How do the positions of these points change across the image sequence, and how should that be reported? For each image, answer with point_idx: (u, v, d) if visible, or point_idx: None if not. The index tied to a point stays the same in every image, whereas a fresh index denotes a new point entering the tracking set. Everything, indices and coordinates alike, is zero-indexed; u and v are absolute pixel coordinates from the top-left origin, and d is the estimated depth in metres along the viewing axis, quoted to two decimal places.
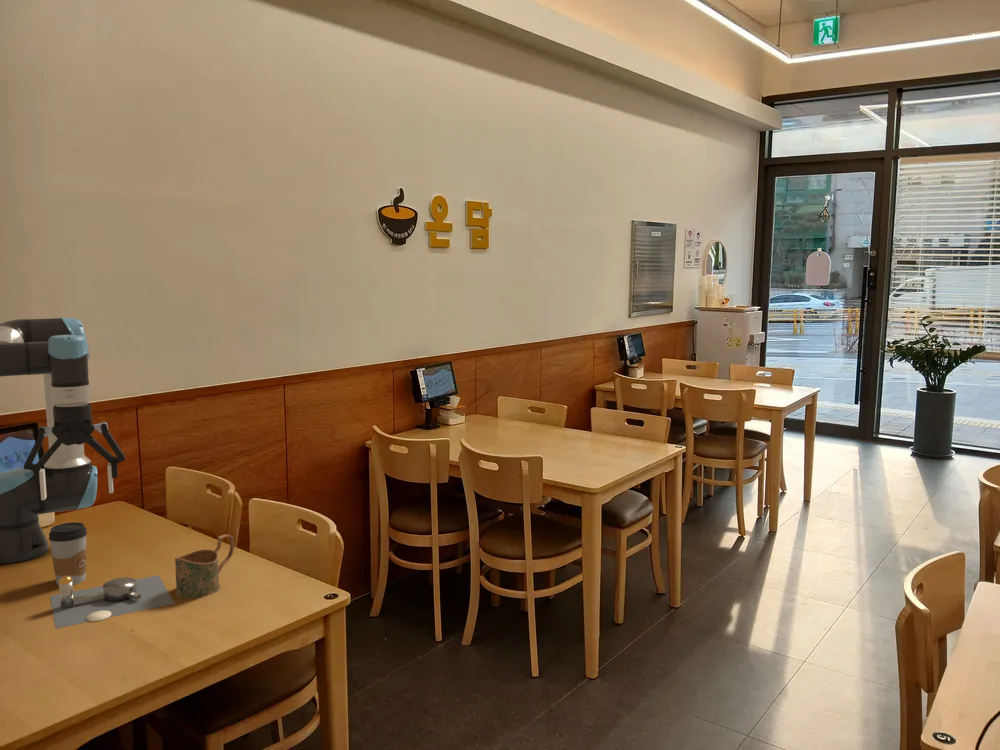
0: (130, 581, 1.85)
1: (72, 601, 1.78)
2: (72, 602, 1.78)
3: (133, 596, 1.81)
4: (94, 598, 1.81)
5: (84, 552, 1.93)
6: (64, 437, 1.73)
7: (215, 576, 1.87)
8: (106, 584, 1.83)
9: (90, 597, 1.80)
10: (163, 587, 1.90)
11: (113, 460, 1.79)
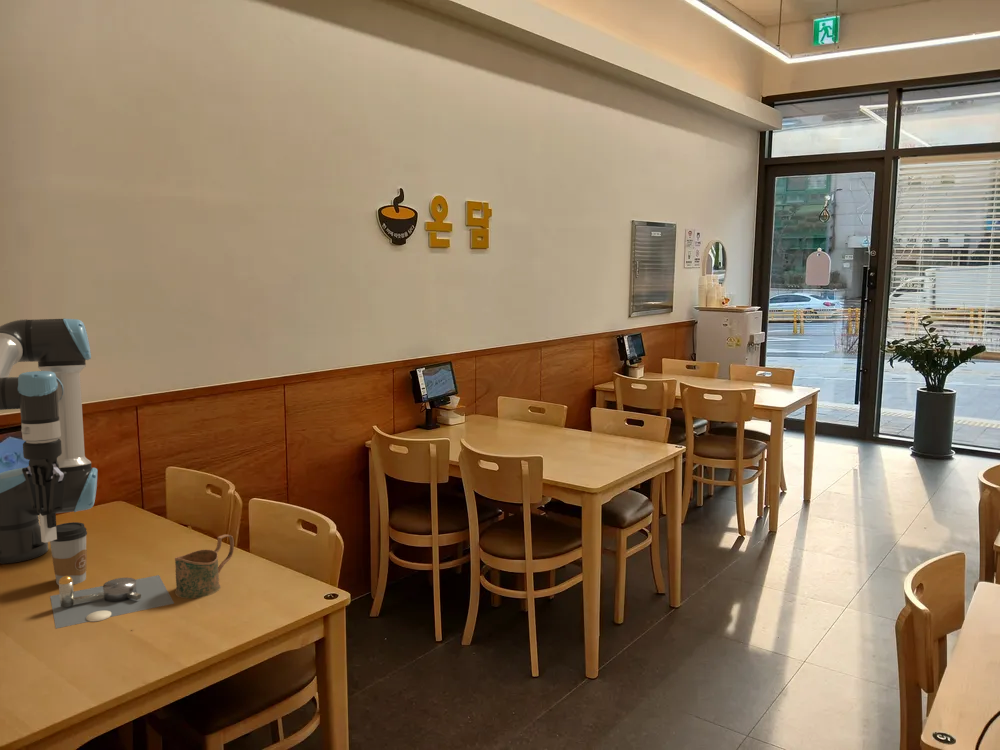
0: (130, 581, 1.85)
1: (72, 601, 1.78)
2: (72, 602, 1.78)
3: (133, 596, 1.81)
4: (94, 598, 1.81)
5: (84, 552, 1.93)
6: (33, 472, 1.75)
7: (215, 576, 1.87)
8: (106, 584, 1.83)
9: (90, 597, 1.80)
10: (163, 587, 1.90)
11: (46, 511, 1.76)
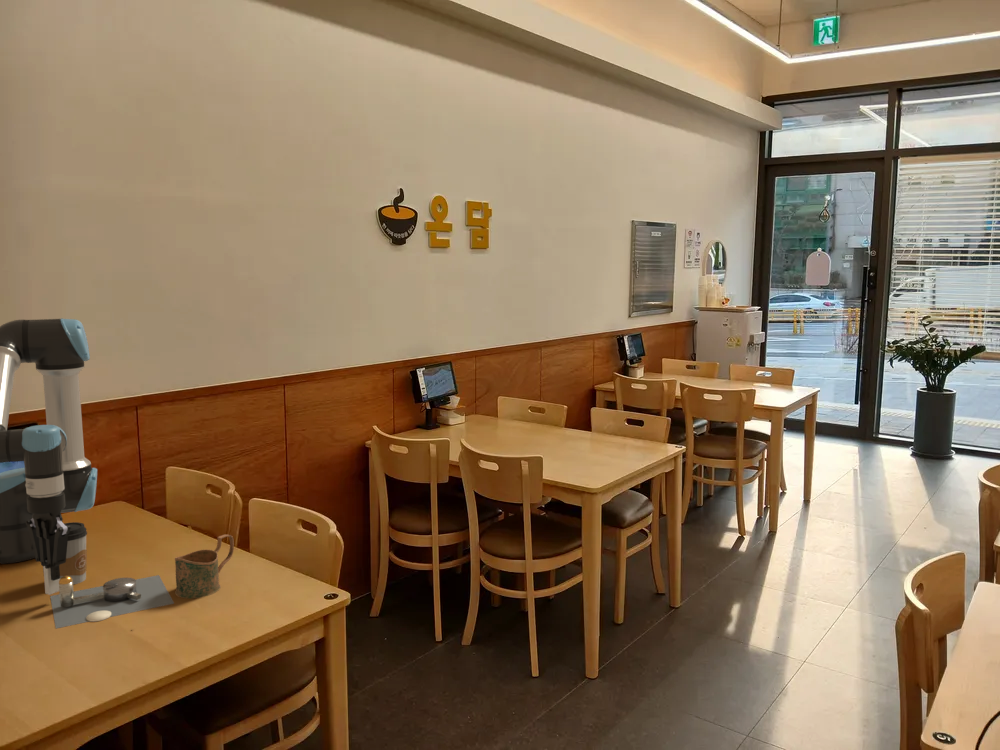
0: (130, 581, 1.85)
1: (72, 601, 1.78)
2: (72, 602, 1.78)
3: (133, 596, 1.81)
4: (94, 598, 1.81)
5: (84, 552, 1.93)
6: (36, 526, 1.77)
7: (215, 576, 1.87)
8: (106, 584, 1.83)
9: (90, 597, 1.80)
10: (163, 587, 1.90)
11: (50, 563, 1.77)
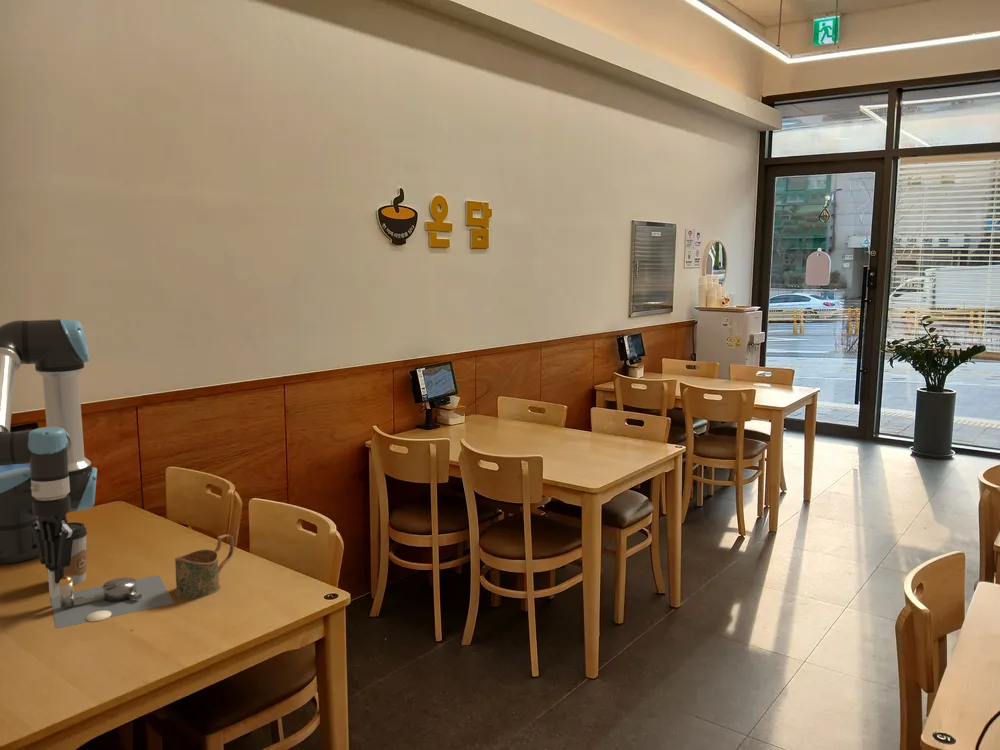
0: (130, 581, 1.85)
1: (72, 601, 1.78)
2: (72, 602, 1.78)
3: (134, 596, 1.81)
4: (94, 598, 1.80)
5: (84, 552, 1.93)
6: (41, 528, 1.76)
7: (215, 576, 1.87)
8: (106, 584, 1.83)
9: (90, 597, 1.80)
10: (163, 587, 1.90)
11: (54, 566, 1.76)
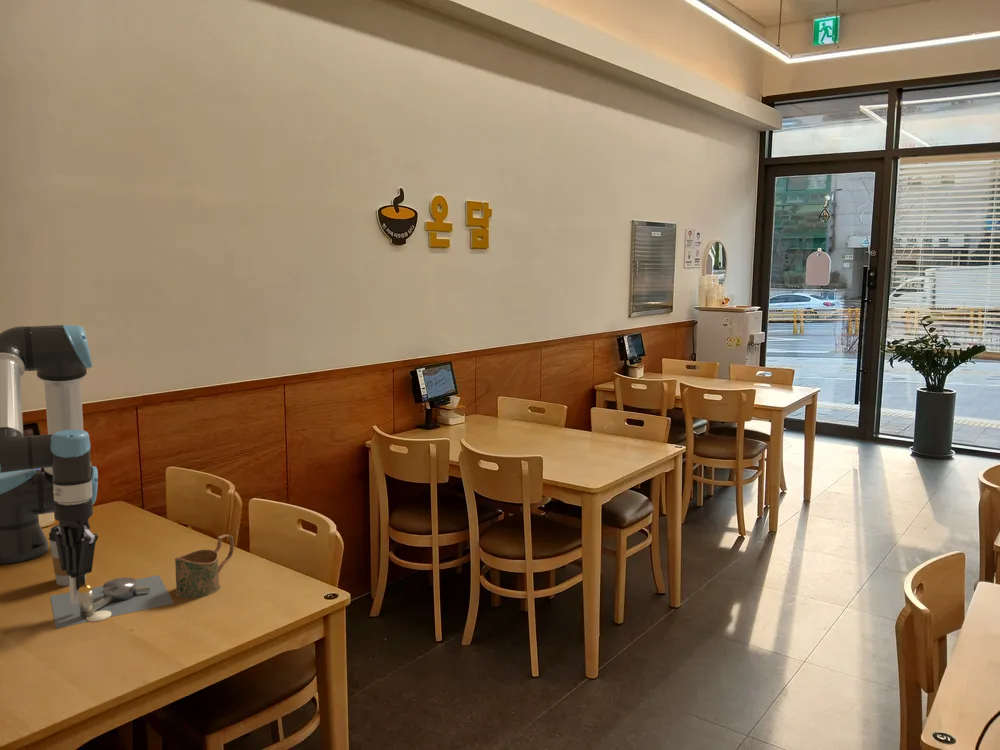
0: (125, 579, 1.86)
1: (93, 608, 1.74)
2: (93, 609, 1.74)
3: (145, 589, 1.85)
4: (106, 602, 1.79)
5: None
6: (63, 533, 1.72)
7: (215, 576, 1.87)
8: (108, 587, 1.81)
9: (104, 601, 1.78)
10: (163, 587, 1.90)
11: (75, 573, 1.72)
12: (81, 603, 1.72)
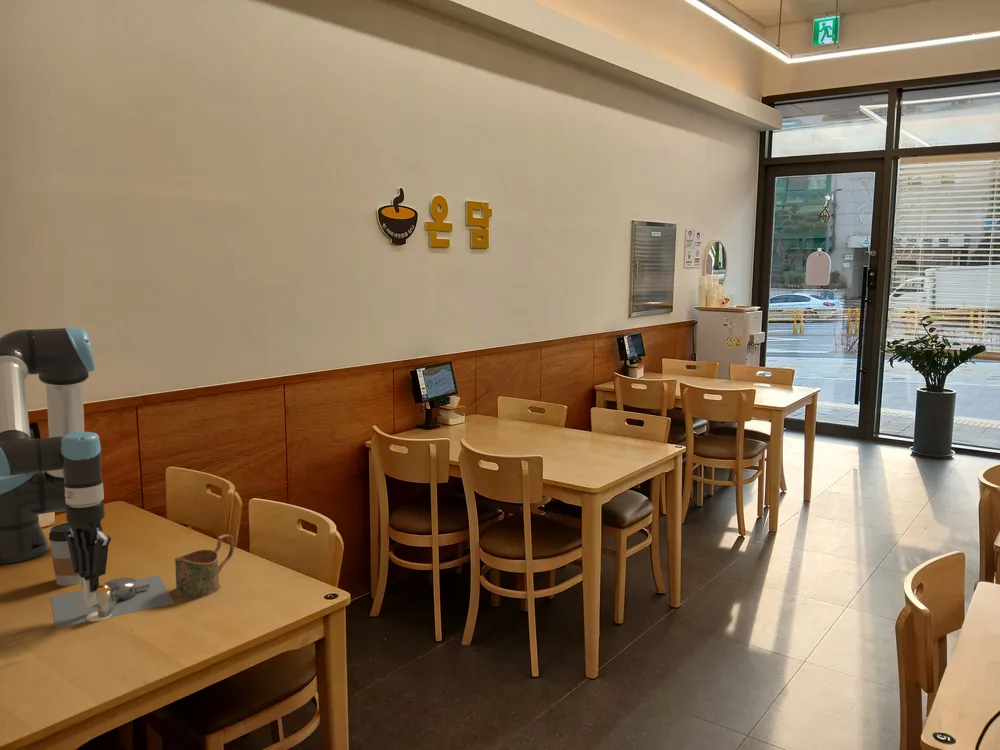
0: (122, 579, 1.86)
1: None
2: None
3: (145, 586, 1.87)
4: (115, 601, 1.79)
5: None
6: (75, 536, 1.71)
7: (215, 576, 1.87)
8: (111, 588, 1.81)
9: (114, 601, 1.78)
10: (163, 587, 1.90)
11: (89, 575, 1.72)
12: (101, 603, 1.72)
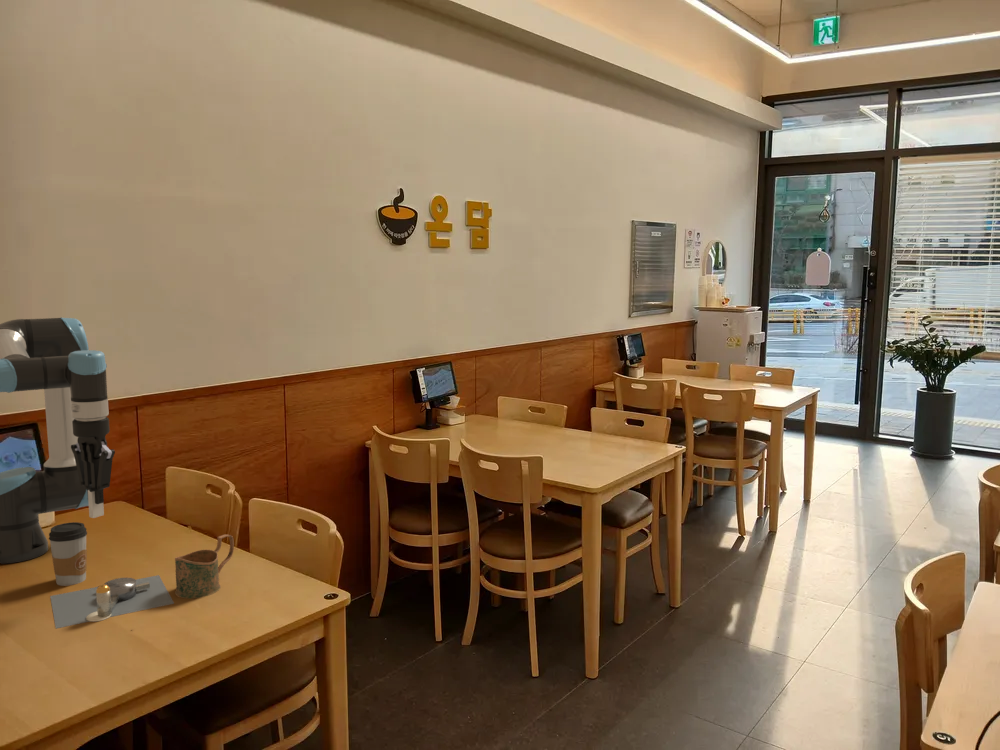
0: (122, 579, 1.86)
1: None
2: None
3: (145, 586, 1.87)
4: (115, 601, 1.79)
5: (84, 552, 1.93)
6: (81, 449, 1.79)
7: (215, 576, 1.87)
8: (111, 588, 1.81)
9: (114, 601, 1.78)
10: (163, 587, 1.90)
11: (94, 487, 1.80)
12: (101, 603, 1.72)
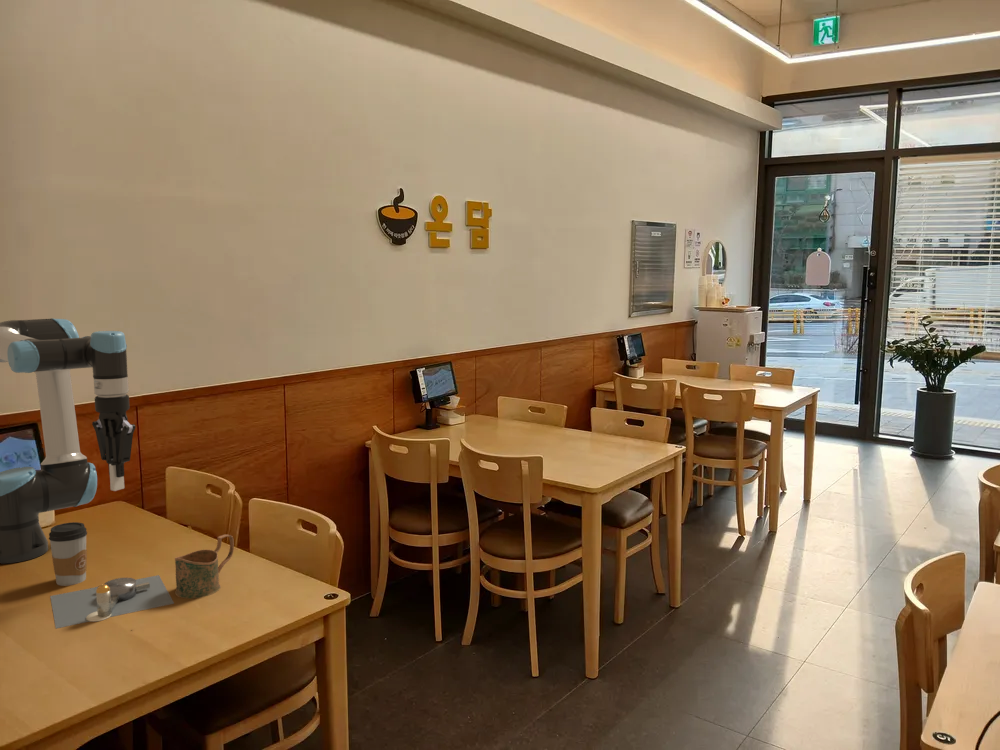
0: (122, 579, 1.86)
1: None
2: None
3: (145, 586, 1.87)
4: (115, 601, 1.79)
5: (84, 552, 1.93)
6: (103, 425, 1.88)
7: (215, 576, 1.87)
8: (111, 588, 1.81)
9: (114, 601, 1.78)
10: (163, 587, 1.90)
11: (115, 461, 1.89)
12: (101, 603, 1.72)
